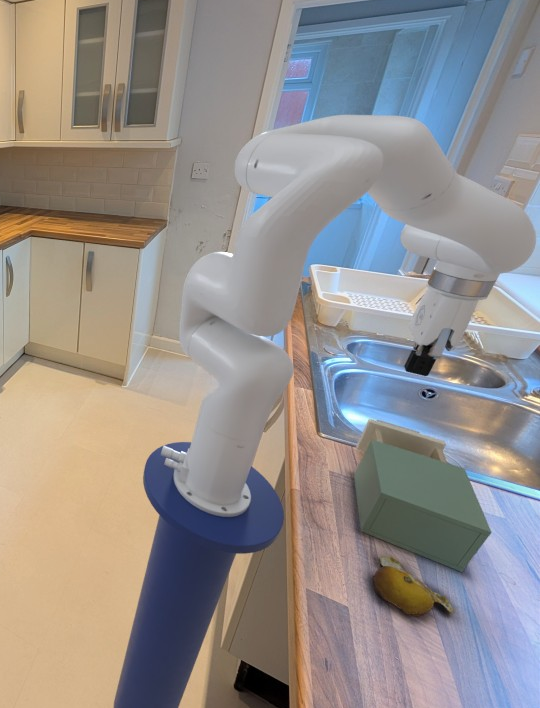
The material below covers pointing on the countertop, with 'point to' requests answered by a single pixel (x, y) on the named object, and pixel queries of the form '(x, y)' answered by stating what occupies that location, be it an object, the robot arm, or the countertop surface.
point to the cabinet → (419, 505)
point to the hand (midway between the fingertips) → (415, 371)
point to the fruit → (405, 589)
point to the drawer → (401, 439)
